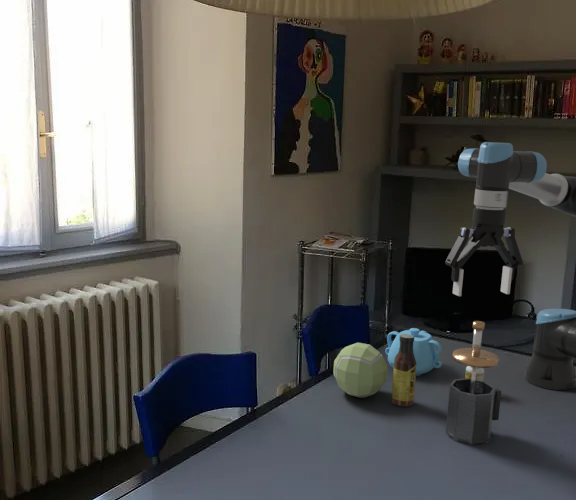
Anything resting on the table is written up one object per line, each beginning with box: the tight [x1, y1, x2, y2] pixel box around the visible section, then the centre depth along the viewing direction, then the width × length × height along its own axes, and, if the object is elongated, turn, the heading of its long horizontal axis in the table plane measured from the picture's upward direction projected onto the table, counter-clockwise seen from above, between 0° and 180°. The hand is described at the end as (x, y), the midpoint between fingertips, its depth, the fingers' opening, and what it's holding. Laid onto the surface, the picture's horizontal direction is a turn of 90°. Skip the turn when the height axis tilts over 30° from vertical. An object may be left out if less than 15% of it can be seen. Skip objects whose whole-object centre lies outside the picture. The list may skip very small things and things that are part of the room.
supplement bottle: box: [464, 365, 485, 382], centre depth 189 cm, size 5×5×10 cm
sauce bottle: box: [391, 334, 417, 408], centre depth 178 cm, size 7×6×20 cm
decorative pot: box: [384, 327, 443, 377], centre depth 205 cm, size 16×16×14 cm
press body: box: [445, 378, 502, 446], centre depth 162 cm, size 14×11×13 cm
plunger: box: [452, 320, 500, 394], centre depth 159 cm, size 11×11×21 cm
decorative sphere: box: [332, 342, 388, 399], centre depth 183 cm, size 15×15×15 cm
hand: (481, 293), depth 156 cm, fingers open, 13 cm apart
